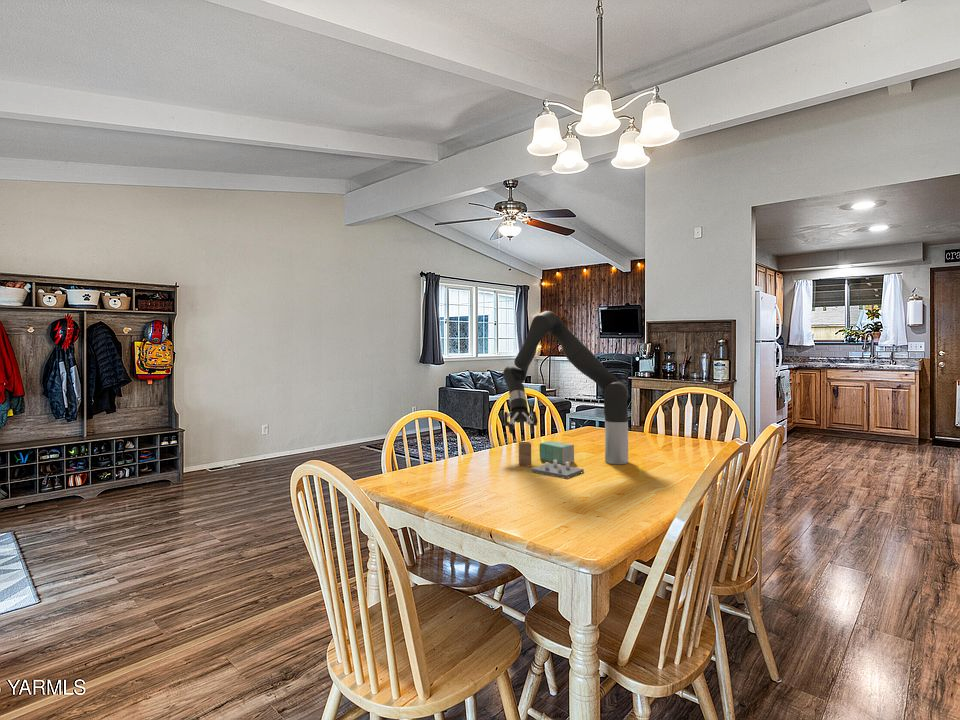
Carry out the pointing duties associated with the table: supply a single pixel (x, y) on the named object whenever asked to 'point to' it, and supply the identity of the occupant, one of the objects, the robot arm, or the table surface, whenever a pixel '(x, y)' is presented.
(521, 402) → the robot arm
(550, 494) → the table surface
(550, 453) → the box
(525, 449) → the post
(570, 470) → the peg plate
